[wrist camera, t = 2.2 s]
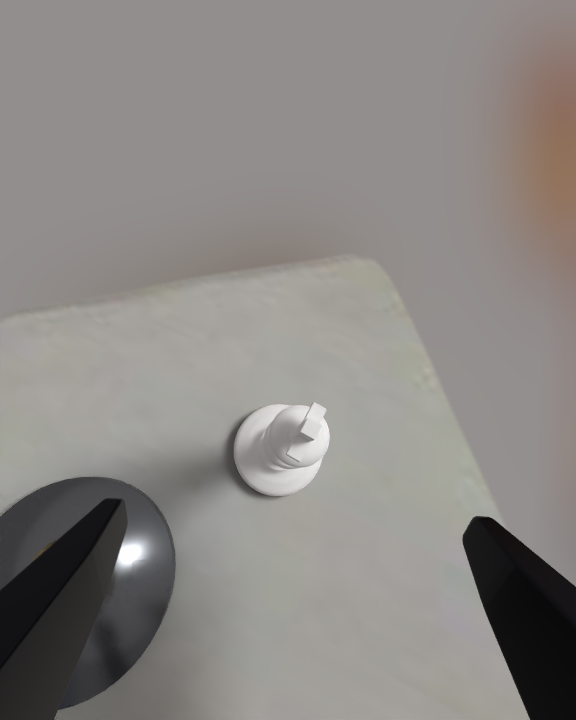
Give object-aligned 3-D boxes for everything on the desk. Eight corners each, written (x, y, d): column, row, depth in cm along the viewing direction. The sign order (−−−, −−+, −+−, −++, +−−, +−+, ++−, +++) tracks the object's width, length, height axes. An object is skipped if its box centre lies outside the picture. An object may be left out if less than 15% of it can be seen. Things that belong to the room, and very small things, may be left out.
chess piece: (216, 467, 18) (179, 466, 8) (262, 389, 19) (276, 314, 10) (296, 514, 17) (354, 570, 8) (335, 431, 19) (424, 395, 9)
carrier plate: (174, 679, 15) (171, 688, 14) (-55, 722, 13) (-68, 733, 13) (176, 468, 17) (173, 468, 17) (-14, 486, 16) (-24, 487, 15)
